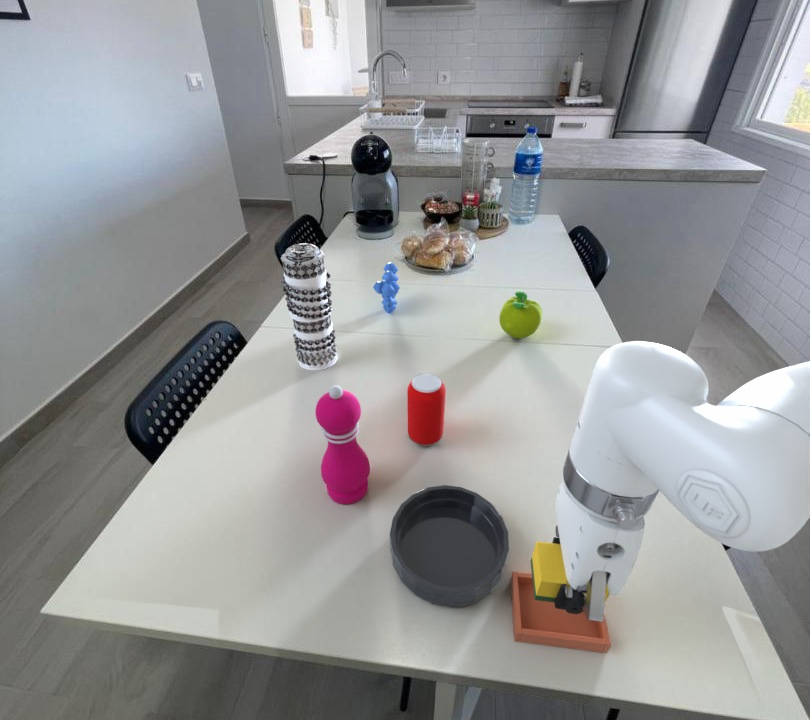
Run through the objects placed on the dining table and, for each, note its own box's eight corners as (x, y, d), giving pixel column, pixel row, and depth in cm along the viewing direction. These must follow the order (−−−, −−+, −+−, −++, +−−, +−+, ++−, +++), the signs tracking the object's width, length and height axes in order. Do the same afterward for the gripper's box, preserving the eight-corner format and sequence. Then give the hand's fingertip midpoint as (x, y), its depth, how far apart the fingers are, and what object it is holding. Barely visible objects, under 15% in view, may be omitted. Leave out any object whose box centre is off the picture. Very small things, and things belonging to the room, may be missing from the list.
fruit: (493, 342, 101) (498, 303, 96) (501, 322, 108) (506, 284, 103) (534, 349, 99) (542, 310, 93) (540, 329, 106) (547, 291, 100)
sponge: (592, 568, 51) (601, 548, 49) (601, 608, 47) (611, 589, 45) (530, 560, 52) (536, 541, 49) (534, 600, 48) (541, 581, 46)
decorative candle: (302, 346, 101) (284, 238, 86) (343, 347, 100) (331, 239, 85) (290, 370, 93) (268, 257, 79) (334, 372, 92) (320, 258, 78)
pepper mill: (365, 464, 72) (356, 365, 61) (376, 500, 67) (369, 398, 55) (320, 475, 71) (303, 375, 59) (328, 513, 65) (310, 411, 53)
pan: (529, 573, 57) (534, 555, 55) (427, 632, 52) (427, 616, 49) (463, 488, 68) (465, 470, 66) (372, 529, 63) (371, 512, 60)
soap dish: (593, 589, 56) (597, 581, 55) (606, 653, 50) (611, 645, 49) (510, 579, 57) (512, 571, 56) (514, 641, 51) (516, 633, 50)
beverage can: (409, 450, 75) (409, 395, 68) (406, 424, 80) (405, 371, 73) (445, 447, 75) (448, 393, 68) (440, 422, 80) (442, 369, 73)
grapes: (377, 297, 119) (375, 254, 112) (402, 298, 119) (401, 255, 112) (370, 319, 110) (368, 274, 103) (398, 320, 110) (397, 275, 103)
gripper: (693, 575, 32) (620, 675, 42) (627, 413, 45) (585, 520, 56) (583, 562, 32) (539, 664, 43) (551, 406, 46) (524, 514, 57)
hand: (565, 582), depth 49 cm, fingers closed on sponge, 4 cm apart
